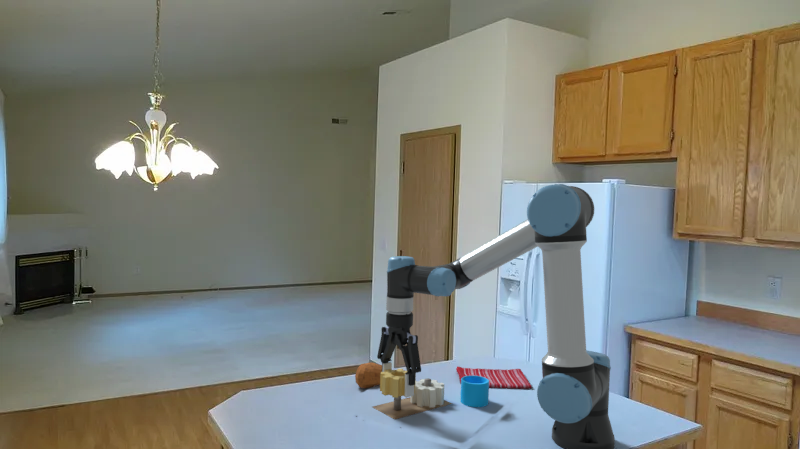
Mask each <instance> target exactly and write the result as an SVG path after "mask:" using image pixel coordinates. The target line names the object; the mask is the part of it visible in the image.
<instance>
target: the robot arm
mask: <svg viewBox="0 0 800 449" xmlns="http://www.w3.org/2000/svg"><path fill="white" fill-rule="evenodd" d="M594 216H595V204H594V201H593V199H592V197H591V196H590V194H589V193H588V192H587V191H585V190H584V189H582V188H580V187H577V186H572V185H566V184H563V183H558V184H557V183H554V184H549V185H546V186H543V187H541V188H539V189H538V190H536V191H535V193H533V195H531V197H530V199H529V202H528V203H527V207H526V217H527V219H526V220H524V221H523V222H521V223H518V224H516V225H515V226H513V227H512V228H510V229H508V230H506V231H505V232H503V233H501V234H500V235H497V236H495V237H493V238H492V239H490V240H489V241H487V242H485V243H484V244H481V245H479V246H478V247H476V248H475V249H473V250H470V251H469V252H467V253H465V254H464V255H462V256H460V257H459V258H457V259H455V260H453V261H451V262H450V263H446V264H441V265H435V266H428V265H426V266H425V265H417V264H416V263H415V262H416V260H415V258H414V257H413V256H408V255H406V256H405V255H399V256H398V255H396V256H391V257H389V258H388V261H387V271H386V279H387V280H386V283H387V284H386V285H387V286H386V307H385V309H386V311H387V312H386V315H385V325H386V326H382V327H381V330H380V331H381V336H380V339H379V340H380V341H379V346H378V352H377V355H376V356H377V359H378V360H380V362H381V365H382V372H386V370H387V369H391V370H393V369H392V368H393V366H392V365H393V364H392V357H393V354H394V352H395V349H396V347H398V349H399V350H400V351H401V354H402V358H403V361H404V367H405V369H406V371H407V372H406V373H405V396H404V397H405V398H409V397H411V396H414V385H415V374H417V373H421V372H422V367H421V358H420V353H419V344H418V343H419V342H418V341H419V336H418V335H417V334H416V335H415V334H412V333H411V327H413V325H414V313H413V311H414V294H416V293H417V294H421V295H430V296H434V297H450V296H451V295H452V294H453V292H454V291H455V290H461V289H463V288H465V287H467V286H469V285H470V283H472V282H474V281H475V280H477V279H479V278H481V277H483V276H485V275H486V274H489V273H490V272H493V271H494V270H496V269H498V268H500V267H501V266H503V265H505V264H507V263H509V262H512V261H513V260H515V259H517V258H519V257H521V256H523V255H524V254H526V253H528V252H530V251H532V250H534V249H535V248H539V249H540V250H541V252H542V253H541V255H542V268H543V271H542V272H543V288H544V302H545V303H544V307H545V308H544V309H545V323H546V324H545V325H546V326H545V327H546V338H547V343H546V344H547V352H546V354H545V355H544V356H543V357H542V359H541V370H542V372H541V373H542V374H541V375H542V379H540V381H539V384H538V387H537V390H536V397H537V401H538V404H539V406H540V408H541V409H542V411H543V412H544V413H546V415H547V416H548V417H549V418H551V419H552V420H554V422H553V425H552V427H551V428H552V429H551V440H552V441H553V442H554V443H555V444H557V445H558V446H560V447H561V448H563V449H615V440H616V439H615V434H614V431H613V428H612V422H611V420H610V417H609V416H610V415H609V403H610V402H609V401H610V377H611V370H612V367H611V359H610V357H609V356H608V355H607V354H604V353H601V352H598V351H592V350H587V342H586V341H587V340H586V326H585V325H586V323H585V322H586V321H585V305H584V290H583V289H584V288H583V286H584V285H583V271H582V255H581V250H582V247H583V246H584V245H585V244H586V243H587V227H588V226H589V225H591V224H590V223H591V222H592V221H593V219H594Z"/></svg>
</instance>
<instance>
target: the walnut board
mask: <svg viewBox="0 0 800 449" xmlns="http://www.w3.org/2000/svg"><path fill="white" fill-rule="evenodd" d="M423 379H424V386H425V387H431V380H432V379H431V378H423ZM410 398H411V396H410V397H405V398H402V396H399V397H398V398H395V397H393V401H390V402H386V403H381V404H377V405H373V406H372V408H373V409H375V410H377V411H378V412H381V413H382V414H383V415H386V416H388V417H389V418H391V419H393V420H398V419H401V418H406V417H409V416H413V415H417V414H420V413H424V412H425V413H426V412H428V411H432V410H435V409H438V408H443V407H446V406H450V405H453V403H452V402H450V401H447V400H445V399H444V404H443V405H441V406H440V405H435V407H432V408H430V407H429V406H423V407H419V406H417V404H416V403H411V402H410Z"/></svg>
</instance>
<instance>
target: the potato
mask: <svg viewBox="0 0 800 449" xmlns="http://www.w3.org/2000/svg"><path fill="white" fill-rule="evenodd" d="M381 372H382V364H380V363H375V362H366V363H361V364H360V365H359V366H358V367H357V369H356V371H355V375H354V377H355V383H356V385H357V386H358V387H360V388H361V389H368V388H374V387H376V386H380V373H381Z"/></svg>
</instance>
